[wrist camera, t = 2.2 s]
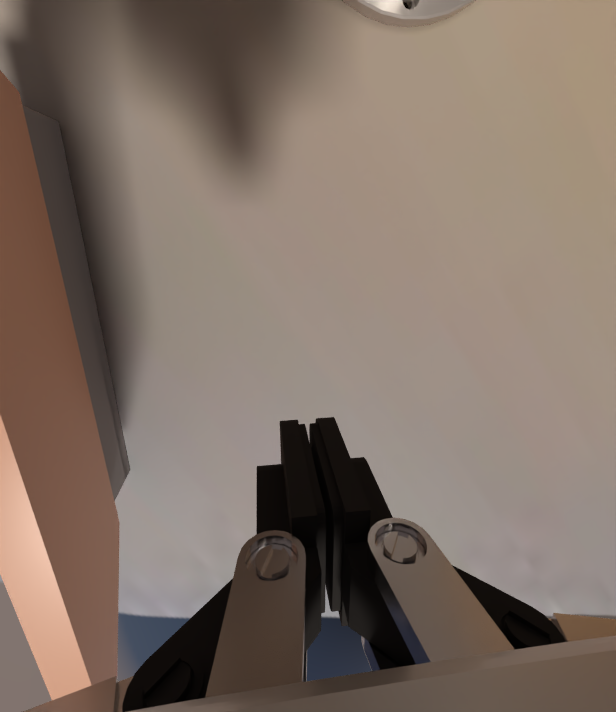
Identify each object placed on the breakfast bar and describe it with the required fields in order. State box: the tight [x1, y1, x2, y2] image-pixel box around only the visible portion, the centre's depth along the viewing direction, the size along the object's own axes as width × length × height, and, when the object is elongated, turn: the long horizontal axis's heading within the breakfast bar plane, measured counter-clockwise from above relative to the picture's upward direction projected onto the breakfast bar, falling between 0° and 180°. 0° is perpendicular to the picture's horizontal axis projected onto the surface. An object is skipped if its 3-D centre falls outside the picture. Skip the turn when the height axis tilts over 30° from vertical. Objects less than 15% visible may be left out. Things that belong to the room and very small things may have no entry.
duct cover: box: [0, 71, 119, 700], centre depth 13 cm, size 22×12×1 cm
